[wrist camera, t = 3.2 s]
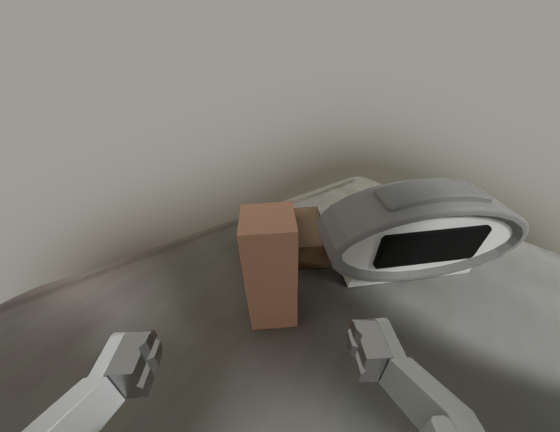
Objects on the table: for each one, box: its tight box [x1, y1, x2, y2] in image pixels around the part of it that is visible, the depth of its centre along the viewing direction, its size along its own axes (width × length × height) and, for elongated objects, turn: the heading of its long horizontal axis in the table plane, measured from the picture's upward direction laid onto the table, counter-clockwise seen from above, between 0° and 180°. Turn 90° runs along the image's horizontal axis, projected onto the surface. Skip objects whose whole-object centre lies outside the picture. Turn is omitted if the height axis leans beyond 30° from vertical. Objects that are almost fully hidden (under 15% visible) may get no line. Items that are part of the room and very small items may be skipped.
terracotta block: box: [236, 202, 298, 330], centre depth 25 cm, size 5×5×13 cm
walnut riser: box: [294, 207, 330, 270], centre depth 37 cm, size 10×10×4 cm
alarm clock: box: [316, 178, 529, 288], centre depth 29 cm, size 23×6×13 cm, turn 97°
